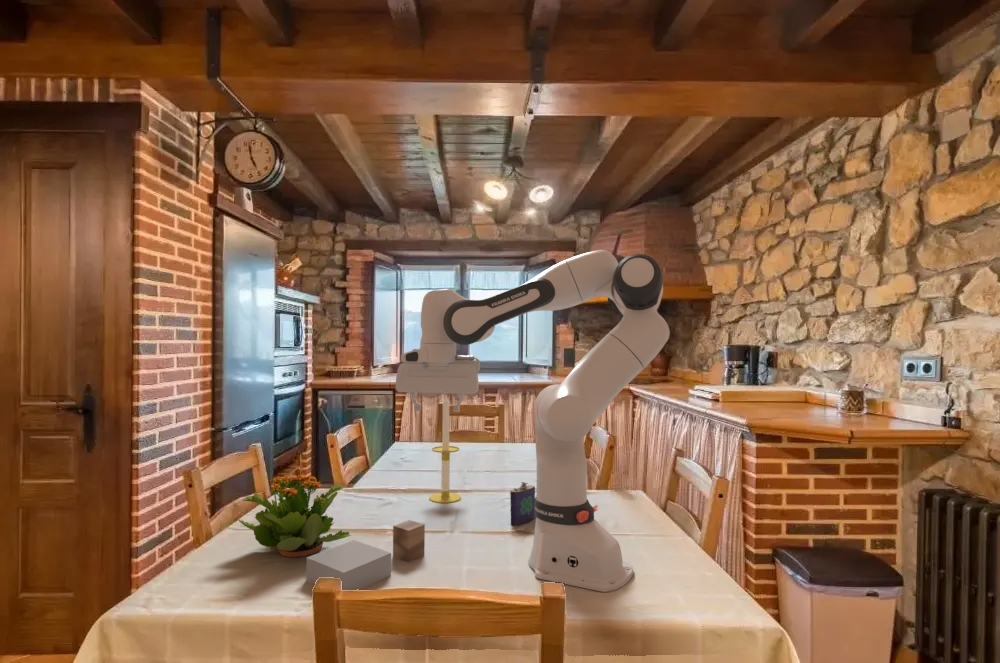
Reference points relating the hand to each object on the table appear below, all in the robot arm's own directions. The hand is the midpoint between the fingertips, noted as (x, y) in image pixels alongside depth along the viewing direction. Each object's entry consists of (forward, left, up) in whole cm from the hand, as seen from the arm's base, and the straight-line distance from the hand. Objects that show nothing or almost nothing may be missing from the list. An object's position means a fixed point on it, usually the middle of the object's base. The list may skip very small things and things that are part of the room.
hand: (437, 411), depth 132 cm
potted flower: (+21, +24, -32) cm, 45 cm away
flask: (-9, -24, -32) cm, 41 cm away
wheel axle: (+22, -27, -32) cm, 47 cm away
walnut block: (-1, +11, -32) cm, 33 cm away
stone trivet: (0, +26, -32) cm, 41 cm away
